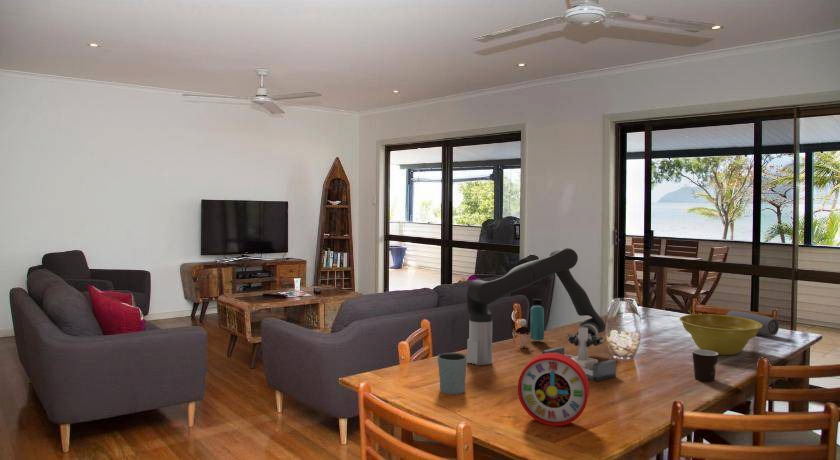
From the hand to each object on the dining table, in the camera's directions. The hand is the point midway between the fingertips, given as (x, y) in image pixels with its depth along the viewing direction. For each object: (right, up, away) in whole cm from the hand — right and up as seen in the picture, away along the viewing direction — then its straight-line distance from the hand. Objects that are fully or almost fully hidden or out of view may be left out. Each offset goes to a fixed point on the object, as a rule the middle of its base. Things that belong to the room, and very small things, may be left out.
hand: (581, 344), depth 221 cm
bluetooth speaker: (+104, -9, +71) cm, 126 cm away
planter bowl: (+70, -10, +35) cm, 79 cm away
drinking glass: (-50, -12, -19) cm, 55 cm away
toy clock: (-22, -14, -48) cm, 54 cm away
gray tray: (0, -11, +5) cm, 12 cm away
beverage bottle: (-7, -9, +51) cm, 53 cm away
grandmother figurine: (-15, -10, +41) cm, 45 cm away
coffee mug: (+45, -12, -5) cm, 47 cm away
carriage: (+1, -9, +3) cm, 10 cm away
